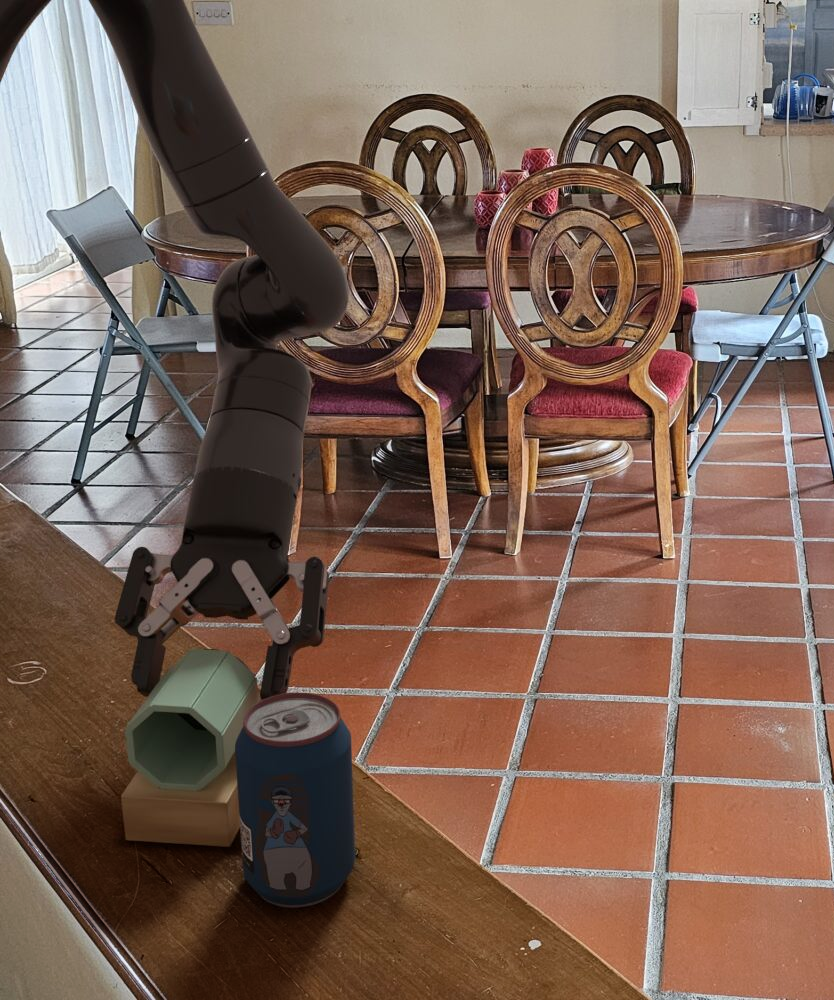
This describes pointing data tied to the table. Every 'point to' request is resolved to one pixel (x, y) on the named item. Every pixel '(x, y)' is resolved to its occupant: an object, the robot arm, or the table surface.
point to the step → (183, 811)
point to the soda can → (295, 799)
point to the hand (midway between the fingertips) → (207, 698)
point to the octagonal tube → (191, 720)
